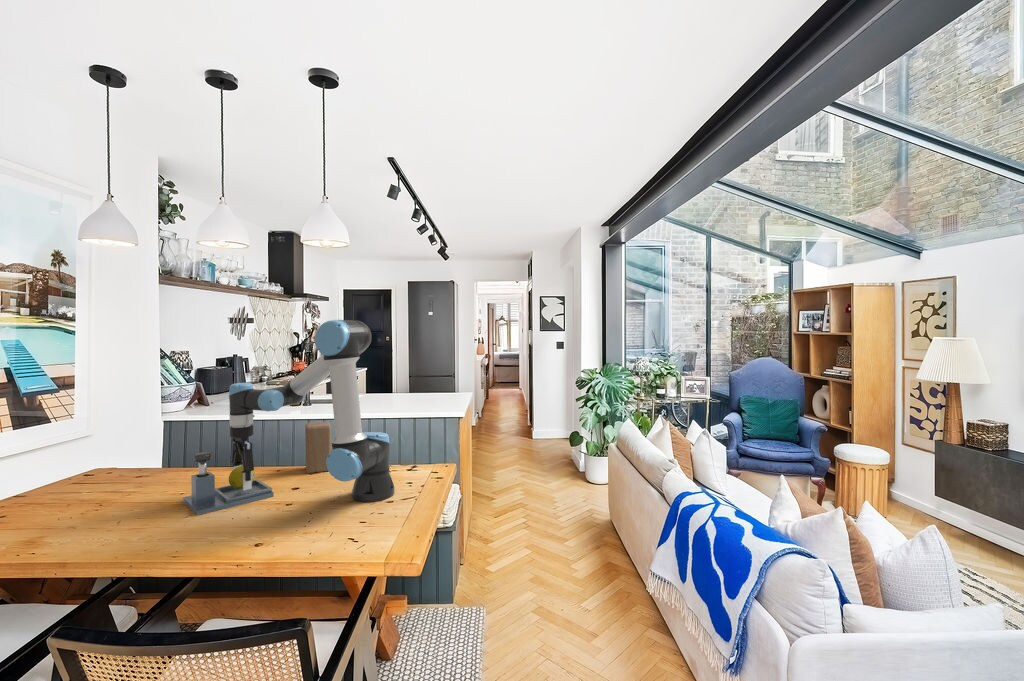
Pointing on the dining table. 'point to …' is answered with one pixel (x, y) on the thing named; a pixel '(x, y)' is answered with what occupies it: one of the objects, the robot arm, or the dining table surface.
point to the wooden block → (317, 446)
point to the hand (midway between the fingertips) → (242, 486)
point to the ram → (202, 462)
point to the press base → (222, 494)
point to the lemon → (238, 477)
